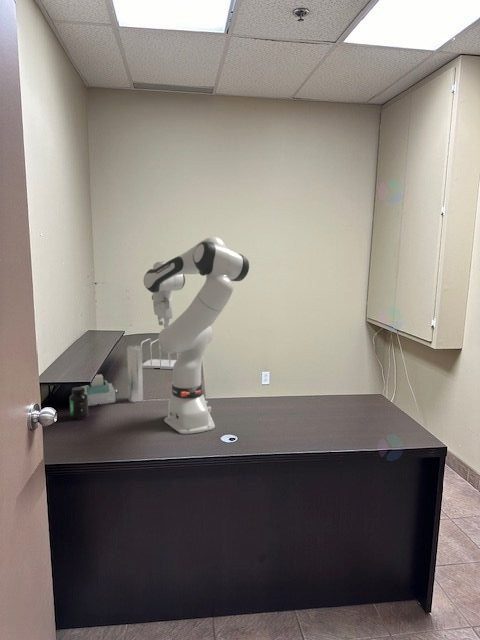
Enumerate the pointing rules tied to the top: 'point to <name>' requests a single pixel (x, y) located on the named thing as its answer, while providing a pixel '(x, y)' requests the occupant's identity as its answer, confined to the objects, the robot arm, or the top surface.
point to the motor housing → (100, 394)
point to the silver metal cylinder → (135, 373)
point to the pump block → (97, 381)
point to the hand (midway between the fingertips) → (163, 326)
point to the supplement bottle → (78, 404)
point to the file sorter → (158, 360)
